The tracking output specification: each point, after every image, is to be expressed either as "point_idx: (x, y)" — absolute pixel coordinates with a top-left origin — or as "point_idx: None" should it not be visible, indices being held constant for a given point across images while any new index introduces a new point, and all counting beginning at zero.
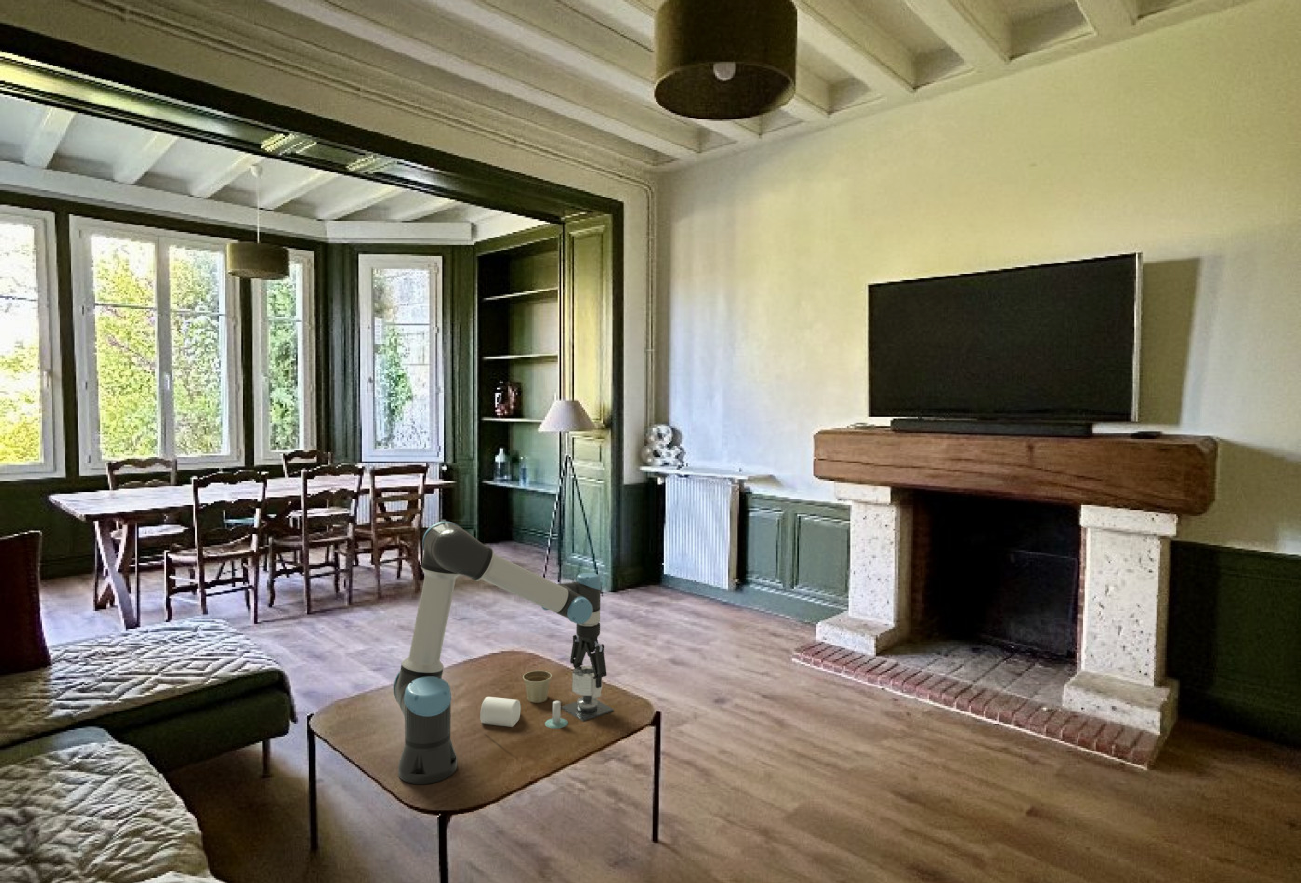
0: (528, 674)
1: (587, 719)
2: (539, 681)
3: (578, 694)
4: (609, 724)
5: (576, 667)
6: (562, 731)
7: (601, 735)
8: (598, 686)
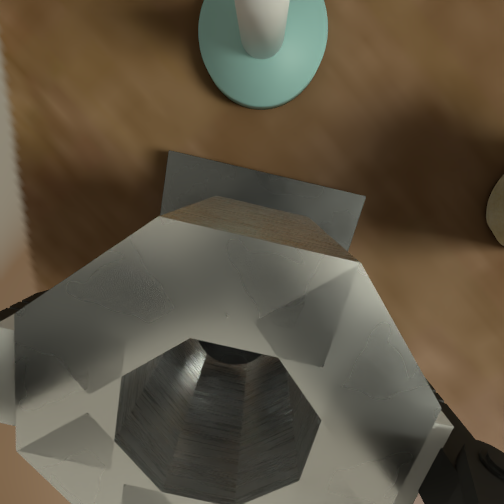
0: None
1: (167, 180)
2: None
3: (223, 198)
4: (93, 231)
5: (444, 450)
6: (198, 19)
7: (35, 123)
8: (33, 299)
